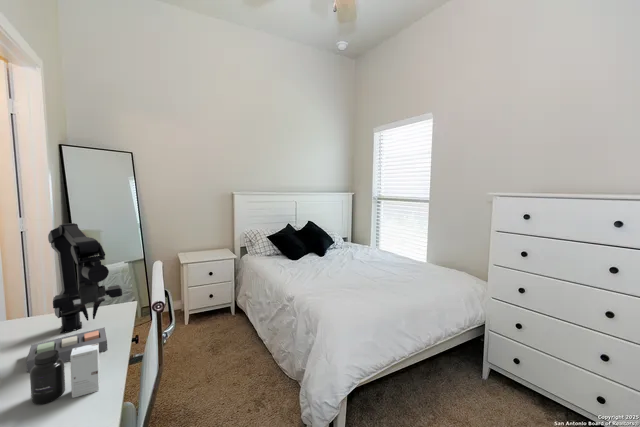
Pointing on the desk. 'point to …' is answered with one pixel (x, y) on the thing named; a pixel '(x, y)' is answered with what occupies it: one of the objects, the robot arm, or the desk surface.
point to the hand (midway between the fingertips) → (90, 319)
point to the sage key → (45, 347)
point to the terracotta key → (91, 335)
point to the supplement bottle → (47, 378)
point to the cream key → (69, 341)
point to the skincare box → (85, 370)
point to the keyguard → (66, 351)
